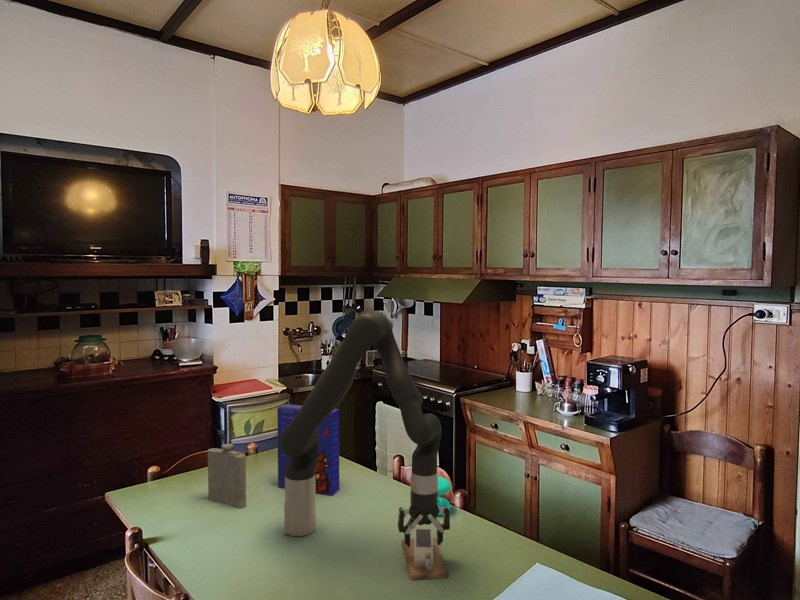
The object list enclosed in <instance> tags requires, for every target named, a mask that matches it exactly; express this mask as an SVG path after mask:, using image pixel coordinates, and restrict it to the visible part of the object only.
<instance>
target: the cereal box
mask: <svg viewBox="0 0 800 600" xmlns="http://www.w3.org/2000/svg"><path fill="white" fill-rule="evenodd" d="M302 406H303V405H299V404H290V403H286V404H282V405H280V406H279V407H277V409H276V411H277V412H276V413H277V488H278V489H283V490H285V467H286V465H287V463H288V462H289V460H290V458H291V457H288V456H286V455H284V454H283V453H282V451H281V449H280V437H281V434H282V432H283V431H284V430H285V428H286V427H287V426H288V425H289V424H290V422H291V421H292V420H293V419H294V417H295V416H296V415H297V414H298V412H299V411H300V409H301V408H302ZM316 429H317V432H318V438H319V447H318V463H317V466H316V470H315V495H322V496H327V497H328V496H329V497H333V496H334V495H335V494H336V493H338V492H339V490H340V409H339V408H335V409H334V410H333V411H332V412H331V413H330V414H329V415H328V416H327V417H326V418H325V419H324V420H323V421H322V422H321V423H320V424H319V426H318V427H317V428H316Z"/></svg>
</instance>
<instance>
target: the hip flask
mask: <svg viewBox="0 0 800 600" xmlns="http://www.w3.org/2000/svg"><path fill="white" fill-rule="evenodd" d="M221 446H222V447H221V448H215V447H212V448H209V449H208V450H207V483H208V489H207V490H208V492H207V493H208V500H209V501H211V502H217V503H222V504H225V505H228V506H231V507H233V508H237V509H243V508H246V507H247V477H246V476H247V475H246V473H247V470H246V469H247V468H246V467H247V466H246V463H247V462H246V454H245V453H242V452H238V451H235V450H234V444H233V443H225V444H222V445H221Z"/></svg>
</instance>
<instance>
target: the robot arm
mask: <svg viewBox="0 0 800 600" xmlns="http://www.w3.org/2000/svg"><path fill="white" fill-rule="evenodd" d="M372 346H373V348H374V349H375V350H376V352H377V353H378V355H379V356H380V359H381V361H382V364H383V368H384V372H385V377H386V378H385V379H386V381H387V382H386V383H387V385H388V388H389V390H390V393H391V395H392V397H393V399H394V401H395V403H396V405H397V407H398V408H399V410H400V414H401V415H400V417H401V419H402V423H403V425H404V431H405V432H406V434H407V437H409V439H410V440H411V442H413V443H414V444H415V445H416V448H415V449H414V451H413V452H412V455H411V474H410V484H409V487H410V501H409V502H410V506H409V508H404V507H403V506H402V507H399V508H398V516H397V517H398V518H397V520H398V521H397V528H398V533H403V535H404V536H403V537H404V539H403V540H404V541H405V544H406V545H407V547H410V539H411V532H412V531H413V529H414V528H415V527H417V525H419V526H423V525H426V526H427V525H429V526H430V525H431V524H432V525H434V527H435V528H436V541H437V544H438V546H441V545H442V543H443V542H444V531H446V530H447V531H449V530H450V529H451V523H450V522H451V521H450V511H449V509H448V507H447V505H444V506H443V507H439V508H438V496H439V495H438V477H439V476H438V453H439V450H440V443H441V439H442V424H441V420H440V419H439V417H438V416H436V415H435V414H433V413H429V412H428V413H423V410H422V407H421V406H422V405H423V403H424V399H423V396H422V394H421V392H420V390H419V389H418V387H417V384H416V383H415V381H414V379H413V378H412V376H411V374H410V372H409V369H408V367H407V365H406V363H405V361H404V358H403V356H402V354H401V350H400V349H399V346H398V344H397V340H396V338H395V335H394V332H393V329H392V326H391V324H390V321H389V320H388V318H387V317H386V316H385V315H384V314H382V313H379V312H369V313H368V312H366V313H362V314H360V315H357V316H356V317H355V318H354V320H353V321H352V322H351V323H350V326H349V328H348V330H347V332H346V333H345V336H344V338H343V340H342V342H341V344H340V346H339V348H338V350H336V352H335V353H334V355H333V357H332V358H331V360H330V361H329V363H328V364H327V366H326V367H325V369H324V371H322V373H321V375H320V376H319V378H318V379H317V381H316V382H315V384H314V386H313V388H312V389H311V391H310V392H309V394H308V396H307V397H306V399H305V400H304V403H303V404H302V405H301V406H302V408H301V409H300V411H299V412H298V414H297V415H296V416H295V417H294V419H293V420H292V421H291V422H290V424H289V425H288V426H287V427H286V428H285V430H284V431H283V432H282V434H281V437H280V449H281V451H282V453H283V454H284V455H286V456H288V457H291V458H290V460H289V462H288V463H287V465H286V467H285V489H284V503H283V504H284V506H283V507H284V509H283V515H284V516H283V517H284V523H283V525H284V529H283V530H284V535H285V536H287V535H289V536H292V537H304V536H309V535H310V534H312V533H313V532H315V531H316V527H317V526H316V524H317V523H316V522H317V520H316V519H317V517H316V516H317V515H316V514H317V513H316V505H317V504H316V494H315V470H316V466H317V463H318V447H319V438H318V432H317V429H316V428H317V427H318V426H319V424H320V423H321V422H322V421H323V420H324V419H325V418H326V417H327V416H328V415H329V414H330V413H331V412H332V411H333V410H334V409H337V407H338V406H339V405H340V403H341V402H342V401H343V399H344V398H345V397H346V395H347V393H348V392H349V390H350V389H351V387H352V385H353V382H354V380H355V375H356V370H357V367H358V365H359V363H360V362H361V360H362V359H363V357H364V356H365V354H367V352H368V351H369V349H370V348H371V347H372ZM439 512H441V514H442V515H441V516H443V523H440V521H439V520H438V518H437V517H438V516H437V515H438V514H439ZM407 515H409V516H410V518H409V519H408V521H407V523H406V524H405V522H404V521H405V519H406V518H407Z"/></svg>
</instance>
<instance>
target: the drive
mask: <svg viewBox="0 0 800 600" xmlns="http://www.w3.org/2000/svg"><path fill="white" fill-rule="evenodd" d="M413 533H414V538H413V539H414V568H425V559H426V558H431V568H433V538H434V537H433V528H432V527H431V526H430V527H427V526H426V527H425V526H424V527H423V526H415V528H414V532H413Z"/></svg>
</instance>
